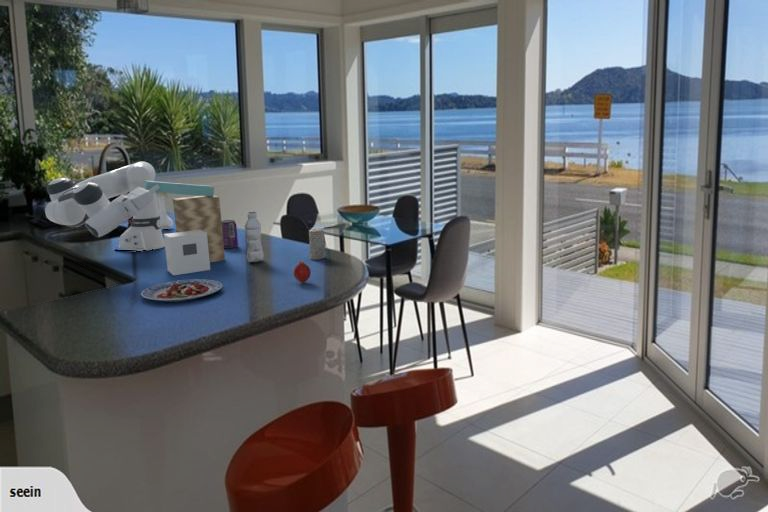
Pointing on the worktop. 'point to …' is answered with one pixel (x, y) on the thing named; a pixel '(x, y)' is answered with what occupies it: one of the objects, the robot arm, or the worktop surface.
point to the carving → (317, 244)
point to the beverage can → (229, 233)
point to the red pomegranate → (302, 272)
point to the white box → (187, 252)
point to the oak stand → (201, 221)
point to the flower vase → (164, 211)
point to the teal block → (181, 188)
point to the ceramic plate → (181, 290)
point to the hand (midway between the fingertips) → (156, 185)
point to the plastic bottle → (253, 238)
